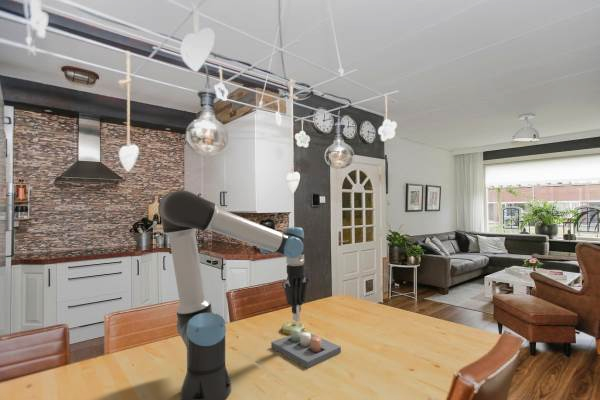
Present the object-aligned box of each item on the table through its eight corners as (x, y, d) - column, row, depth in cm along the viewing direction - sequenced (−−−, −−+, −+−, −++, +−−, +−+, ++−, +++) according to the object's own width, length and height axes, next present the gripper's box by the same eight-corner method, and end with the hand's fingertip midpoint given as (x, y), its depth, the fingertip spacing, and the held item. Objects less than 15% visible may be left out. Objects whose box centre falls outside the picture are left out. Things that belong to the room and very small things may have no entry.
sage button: (295, 342, 126) (295, 333, 126) (288, 339, 130) (288, 329, 130) (303, 339, 129) (303, 330, 129) (296, 336, 133) (296, 327, 133)
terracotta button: (315, 353, 117) (315, 342, 117) (307, 349, 121) (307, 338, 121) (323, 349, 120) (323, 339, 120) (315, 345, 124) (315, 335, 124)
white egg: (305, 347, 122) (305, 337, 122) (297, 344, 125) (297, 334, 125) (313, 344, 125) (313, 334, 125) (305, 340, 128) (305, 331, 128)
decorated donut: (308, 330, 147) (308, 322, 147) (297, 338, 138) (297, 330, 138) (289, 326, 152) (289, 318, 152) (277, 334, 143) (277, 325, 143)
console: (307, 370, 111) (307, 362, 111) (271, 349, 127) (271, 342, 127) (340, 354, 123) (340, 346, 123) (303, 337, 139) (303, 330, 139)
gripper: (289, 267, 123) (290, 327, 123) (312, 263, 132) (313, 318, 131) (277, 265, 129) (278, 322, 128) (301, 260, 137) (302, 314, 137)
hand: (296, 320), depth 130 cm, fingers closed
